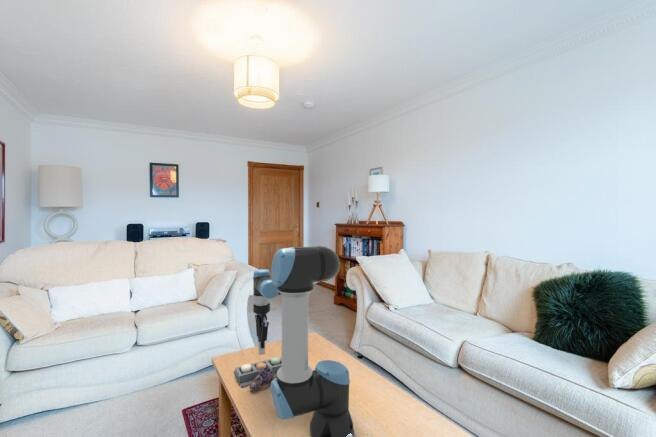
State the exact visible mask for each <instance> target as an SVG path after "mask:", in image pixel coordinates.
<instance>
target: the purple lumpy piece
mask: <svg viewBox="0 0 656 437" xmlns="http://www.w3.org/2000/svg"><path fill="white" fill-rule="evenodd" d="M274 379H275V378H274V371H273V370H272V368H271V367H266V368H263V369H261V370H260V371H259V374H258V375H257V376H256V377H255V379H254V381H253V382H252V384H251V385H250V386H248V387H249V389H250V390H251V391H253V392H254V393H255V391H261V390H262V389H265V388H266V387H268V386H271V381H273V380H274ZM264 384H265V385H264Z"/></svg>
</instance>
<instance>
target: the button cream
mask: <svg viewBox="0 0 656 437" xmlns="http://www.w3.org/2000/svg"><path fill="white" fill-rule="evenodd" d="M250 364H251V363H244V364H242V365H241V366H240V367H241V373H242V374H244V373H248V372H251V365H250Z"/></svg>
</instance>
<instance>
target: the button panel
mask: <svg viewBox="0 0 656 437" xmlns="http://www.w3.org/2000/svg"><path fill="white" fill-rule="evenodd" d="M278 357H279V358H280V364H278V365H275V366H272V365H271V358H268V359H266V360H262V361H261V360H260V361H258V362H253V363H249V364H250V365H251V372H248V373H244V374H242V373H241V366H238V367H235V368H234V370H233V374H234V376H235V378H236V381H237V382H238V385H239V387H240V388H241V389H242V388H246V387H250V385H251V384H252V382H253V381H254V379H255V377H256V376H257V375H258V374H259V371H260V370H261V369H259V370H257V369H256V365H257V364H258V363H265V364H266V367H271V368H272V370H273V371H274V379H277V371H278V370H279V368H281V367H282V356H278Z"/></svg>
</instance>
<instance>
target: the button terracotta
mask: <svg viewBox="0 0 656 437" xmlns="http://www.w3.org/2000/svg"><path fill="white" fill-rule="evenodd" d="M263 368H266V364H265V363H258V364H257V365H256V369H257V370H259V369H263Z"/></svg>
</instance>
